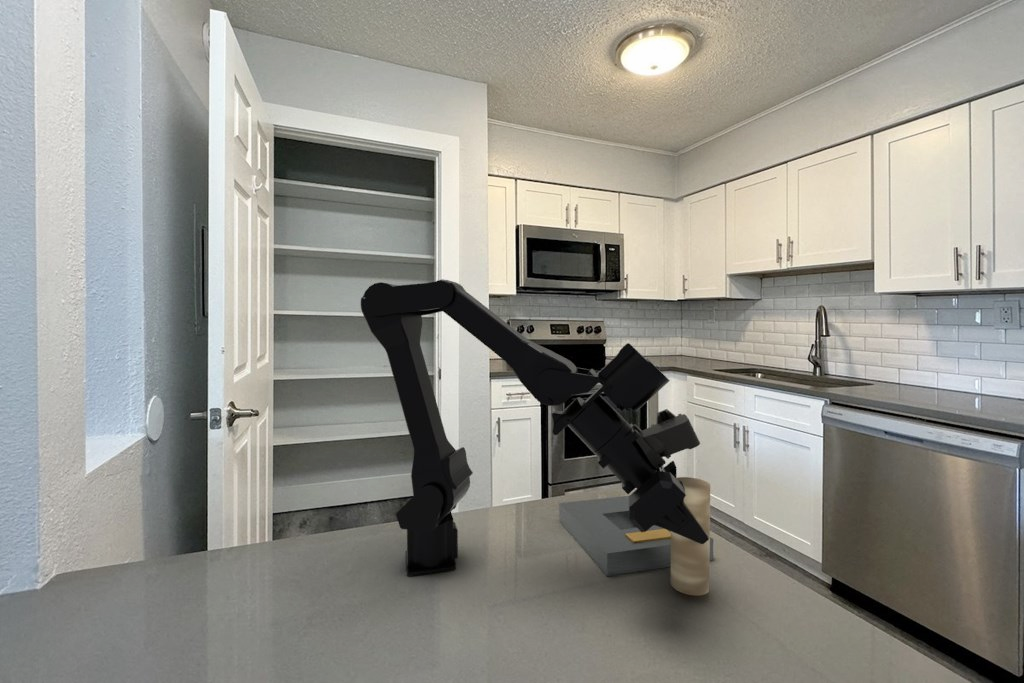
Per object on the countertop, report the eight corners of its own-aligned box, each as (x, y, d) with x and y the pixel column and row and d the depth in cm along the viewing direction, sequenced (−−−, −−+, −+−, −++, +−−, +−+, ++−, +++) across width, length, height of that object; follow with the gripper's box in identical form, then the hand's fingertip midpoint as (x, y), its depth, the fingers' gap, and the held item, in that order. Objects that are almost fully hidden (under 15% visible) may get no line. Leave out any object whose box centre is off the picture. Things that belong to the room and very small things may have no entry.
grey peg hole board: (607, 576, 59) (607, 551, 59) (559, 520, 77) (559, 501, 77) (713, 560, 63) (713, 537, 63) (644, 510, 81) (644, 493, 81)
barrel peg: (684, 597, 53) (685, 490, 52) (663, 578, 57) (663, 478, 57) (717, 592, 54) (718, 487, 54) (693, 573, 58) (694, 475, 58)
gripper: (663, 404, 47) (781, 522, 44) (652, 383, 65) (735, 466, 63) (585, 475, 49) (694, 590, 46) (595, 435, 67) (674, 517, 65)
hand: (702, 532), depth 55 cm, fingers closed on barrel peg, 4 cm apart
